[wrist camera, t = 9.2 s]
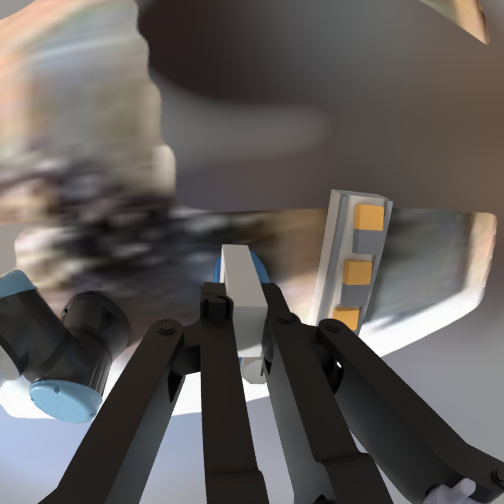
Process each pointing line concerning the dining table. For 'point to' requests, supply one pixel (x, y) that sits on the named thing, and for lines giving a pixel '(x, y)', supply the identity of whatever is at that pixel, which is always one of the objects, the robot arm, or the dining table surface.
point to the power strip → (343, 253)
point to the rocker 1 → (368, 229)
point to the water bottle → (254, 364)
